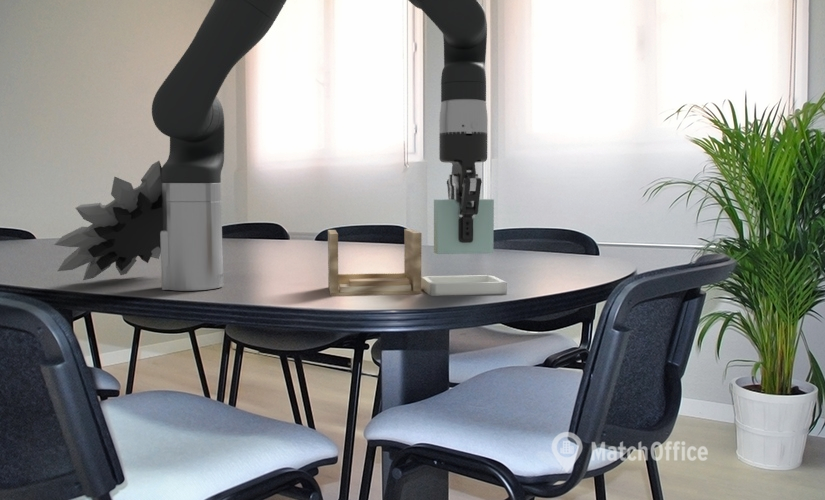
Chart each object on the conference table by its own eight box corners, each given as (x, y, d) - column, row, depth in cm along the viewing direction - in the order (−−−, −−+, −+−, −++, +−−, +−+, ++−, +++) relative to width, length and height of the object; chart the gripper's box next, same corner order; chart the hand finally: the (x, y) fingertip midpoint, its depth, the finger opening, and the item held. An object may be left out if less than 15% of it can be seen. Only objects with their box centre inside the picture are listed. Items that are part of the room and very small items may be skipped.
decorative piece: (93, 314, 124) (29, 242, 97) (82, 299, 125) (16, 223, 98) (231, 226, 135) (208, 140, 108) (220, 213, 136) (195, 124, 110)
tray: (430, 296, 102) (430, 283, 102) (420, 288, 111) (420, 276, 111) (506, 295, 104) (507, 282, 104) (491, 286, 113) (491, 275, 112)
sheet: (437, 254, 105) (437, 199, 104) (433, 252, 108) (433, 199, 107) (493, 253, 106) (493, 199, 105) (488, 251, 109) (488, 199, 108)
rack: (330, 296, 102) (329, 233, 101) (328, 287, 112) (327, 229, 111) (421, 294, 104) (421, 232, 103) (411, 285, 114) (411, 229, 113)
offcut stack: (340, 292, 103) (340, 281, 103) (339, 289, 106) (339, 279, 105) (411, 290, 104) (411, 280, 104) (408, 287, 107) (408, 277, 107)
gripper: (431, 135, 111) (431, 238, 113) (449, 127, 98) (449, 245, 99) (475, 135, 113) (475, 238, 114) (499, 127, 99) (498, 244, 100)
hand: (463, 241), depth 107 cm, fingers closed on sheet, 3 cm apart
